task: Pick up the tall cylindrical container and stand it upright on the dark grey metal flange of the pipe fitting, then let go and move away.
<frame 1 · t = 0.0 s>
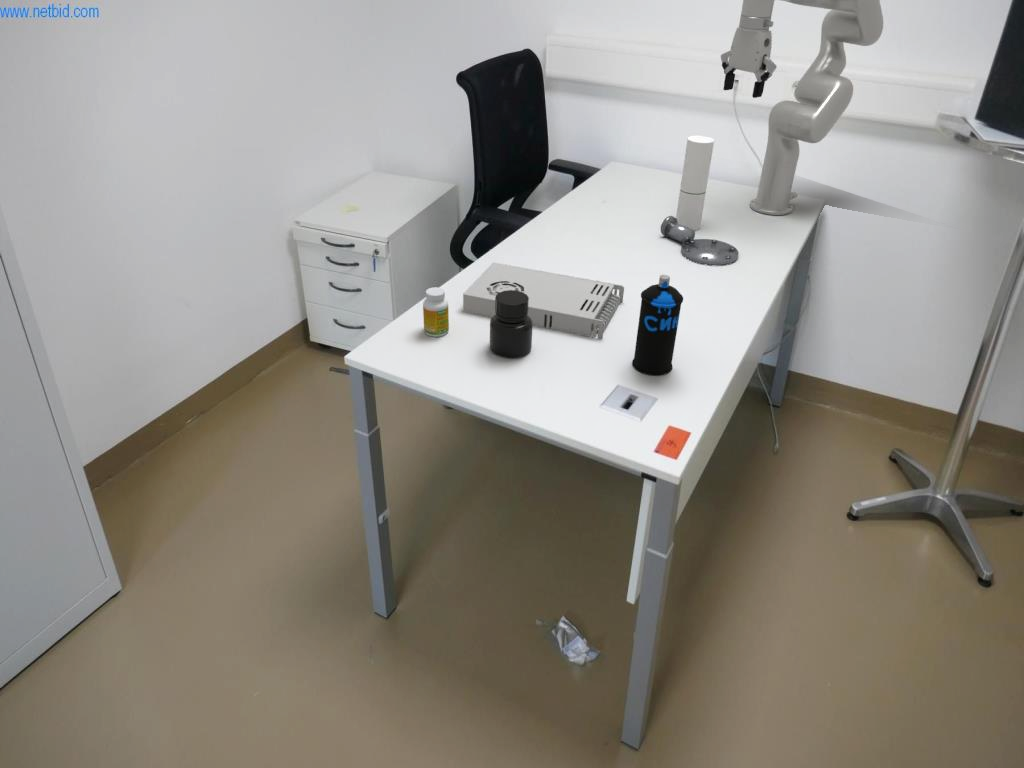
hand: (742, 93, 209), 37 cm above the table, tool pointing down, fingers open, 9 cm apart
aerosol can: (652, 366, 162), on the table
ink bottle: (510, 349, 166), on the table
supplement bottle: (436, 332, 171), on the table
power supply unit: (543, 309, 183), on the table
cylindrical container: (687, 227, 227), on the table
flange fitting: (709, 253, 211), on the table
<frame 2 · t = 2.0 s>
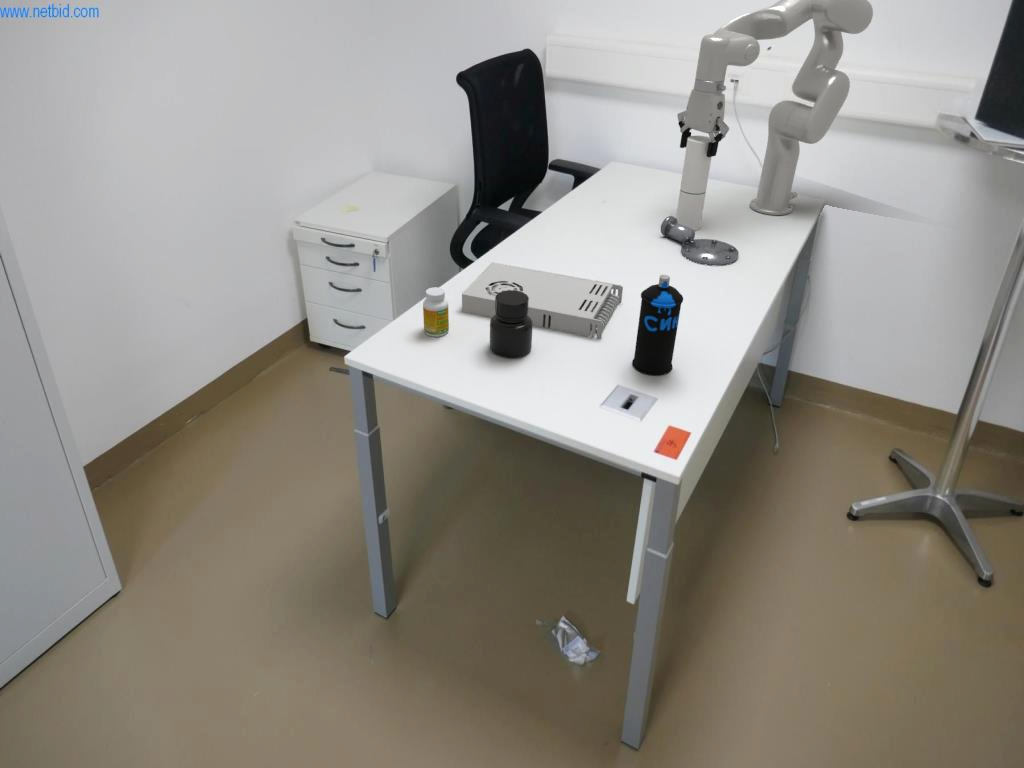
hand: (697, 151, 215), 22 cm above the table, tool pointing down, fingers open, 9 cm apart
nothing on the table moved.
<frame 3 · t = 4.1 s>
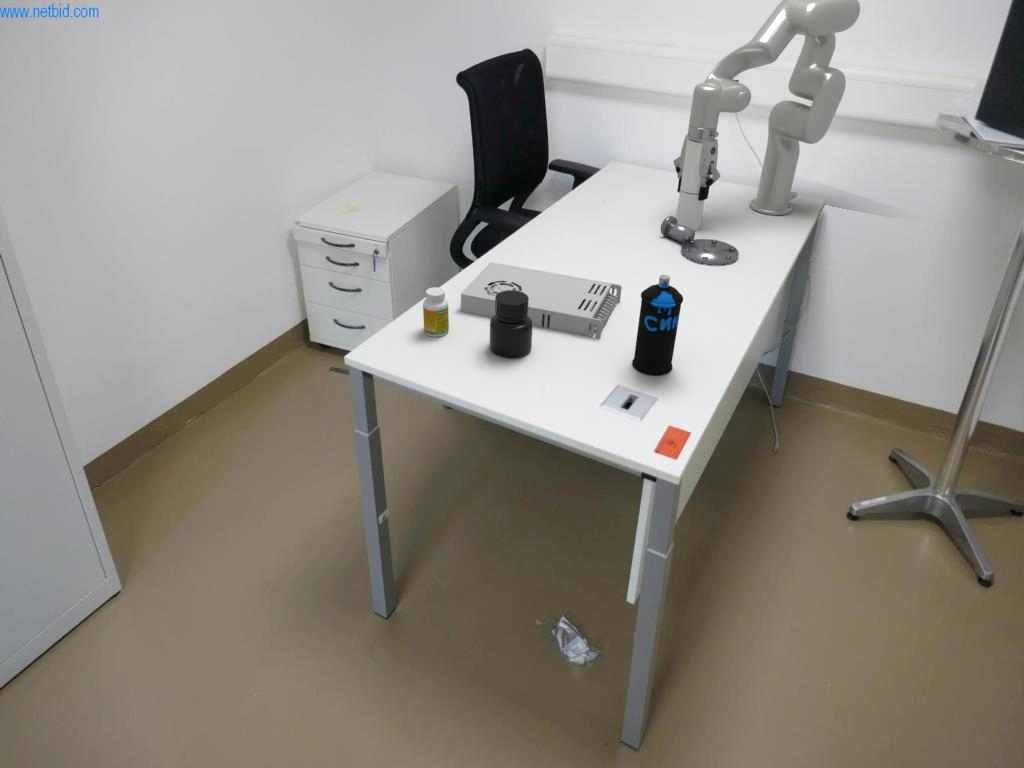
hand: (692, 195, 222), 9 cm above the table, tool pointing down, fingers closed on cylindrical container, 7 cm apart
cylindrical container: (687, 227, 227), on the table, touching gripper
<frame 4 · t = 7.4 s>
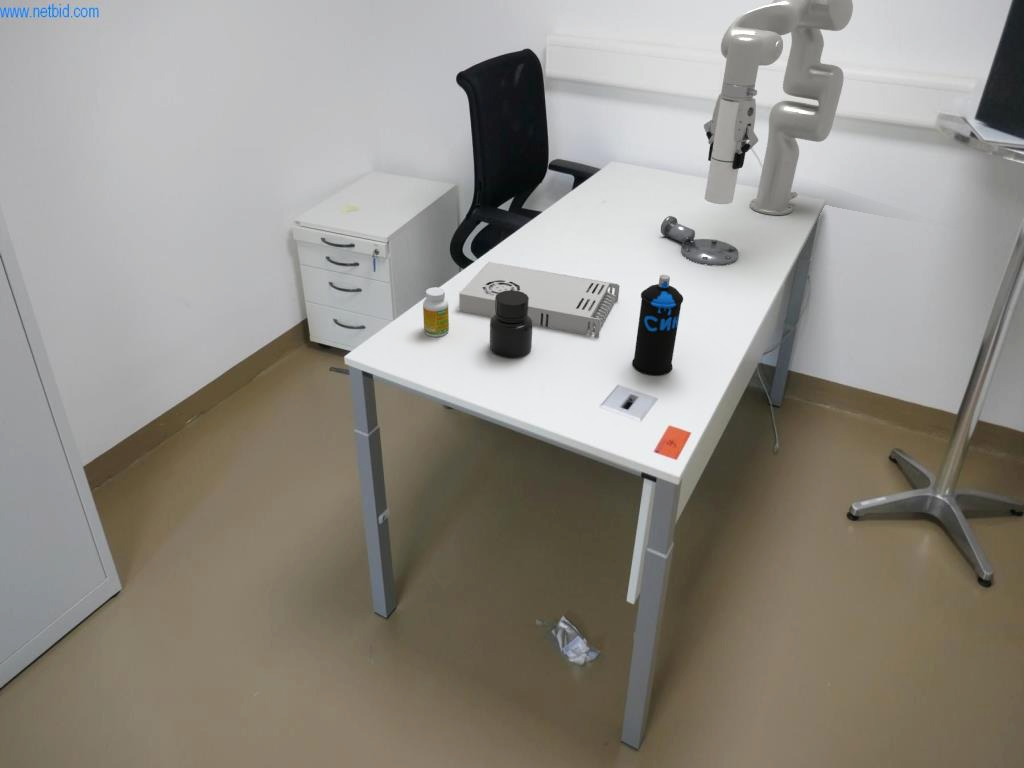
hand: (725, 163, 197), 24 cm above the table, tool pointing down, fingers closed on cylindrical container, 7 cm apart
cylindrical container: (718, 200, 202), point 15 cm above the table, touching gripper
when the fingers open (11 cm above the table, at t = 10.8 s): cylindrical container stays where it is, resting on flange fitting.
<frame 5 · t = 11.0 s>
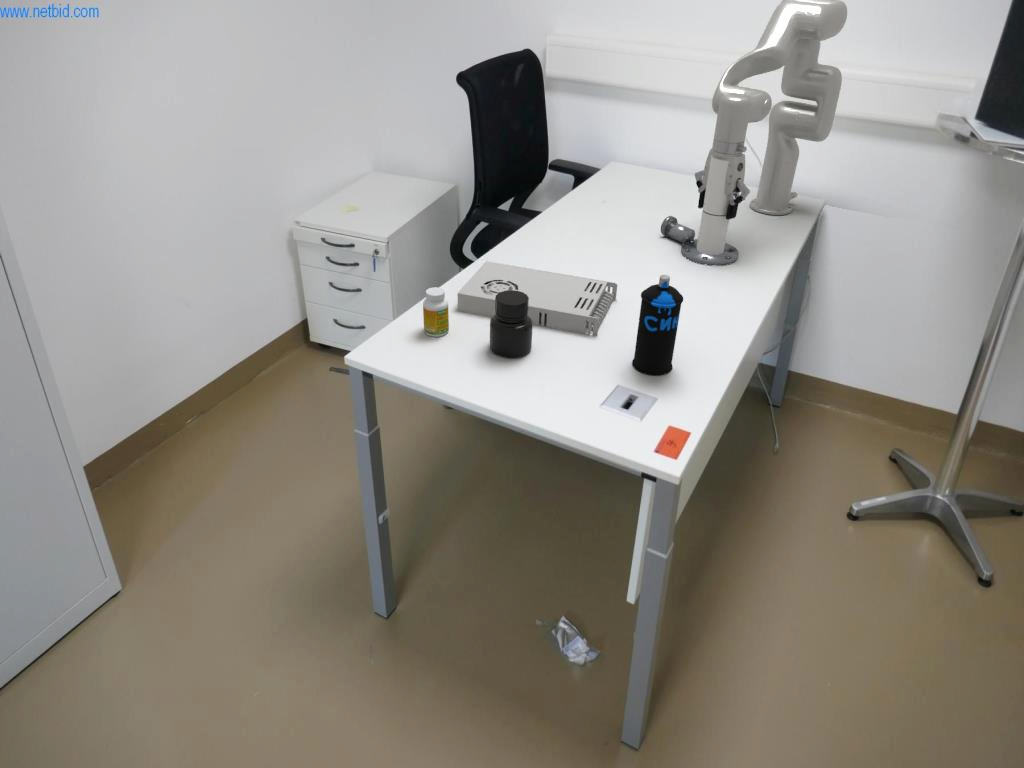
hand: (716, 212, 204), 12 cm above the table, tool pointing down, fingers open, 9 cm apart
cylindrical container: (709, 250, 210), point 1 cm above the table, touching flange fitting
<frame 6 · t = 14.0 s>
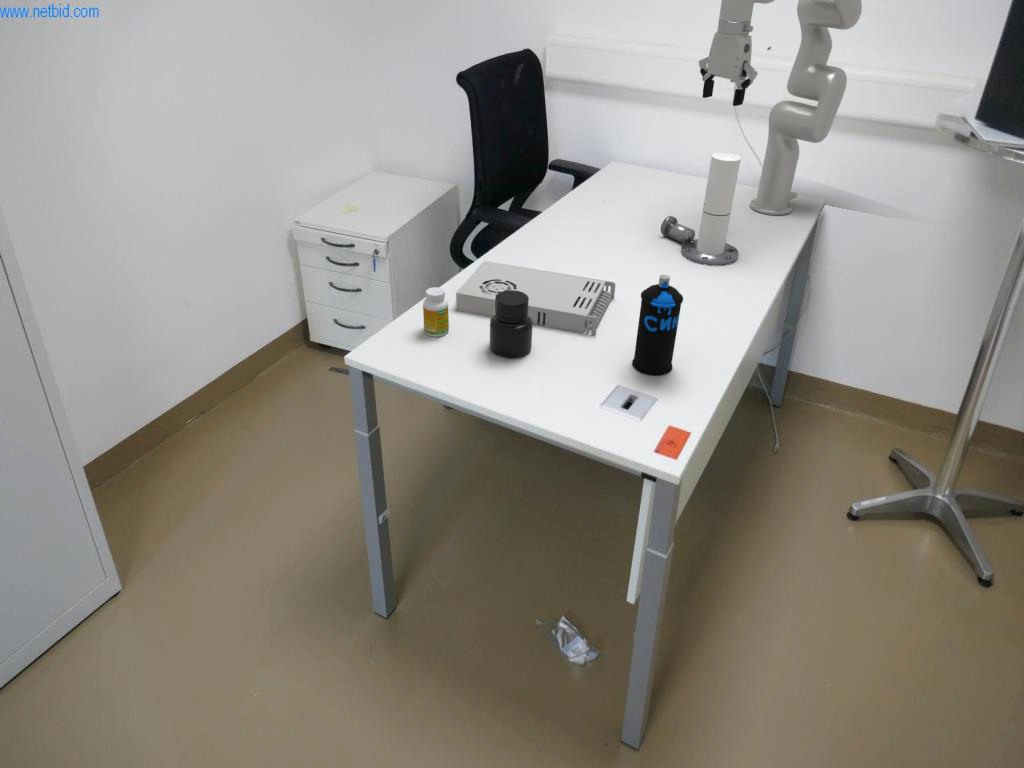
hand: (722, 101, 199), 37 cm above the table, tool pointing down, fingers open, 9 cm apart
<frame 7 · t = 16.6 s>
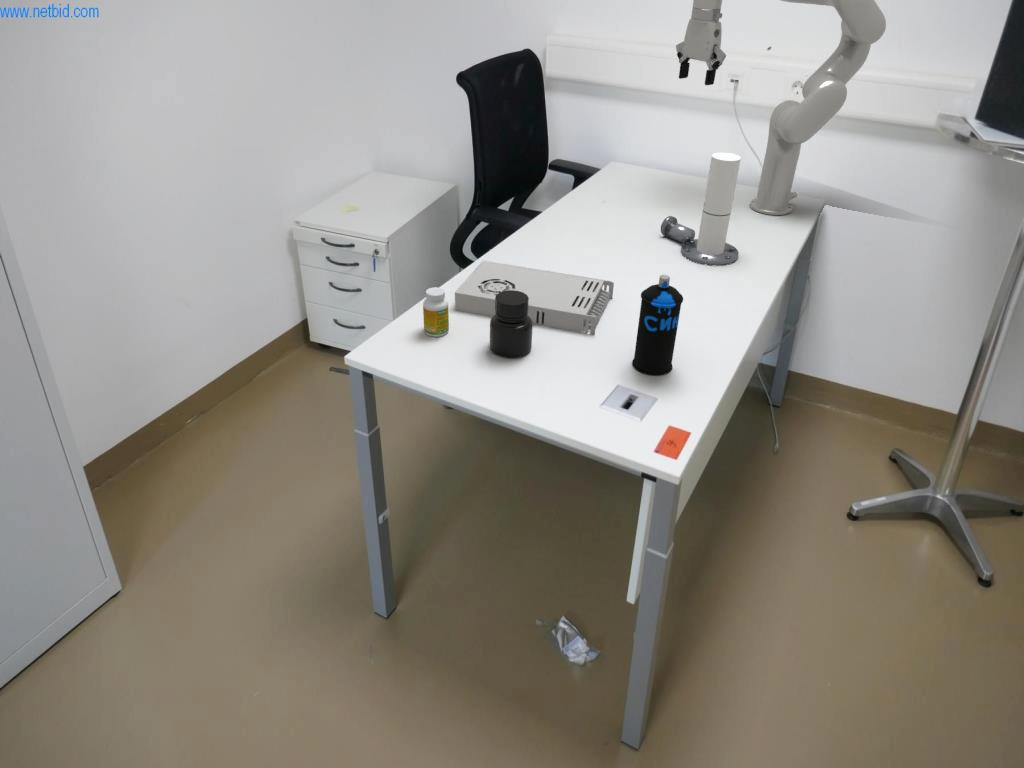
hand: (695, 81, 222), 36 cm above the table, tool pointing down, fingers open, 9 cm apart
at the end: cylindrical container inside the target area on the flange fitting (0.1 cm from its centre), point 1.0 cm above the flange fitting's base; cylindrical container tilted 0°; the gripper is holding nothing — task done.
